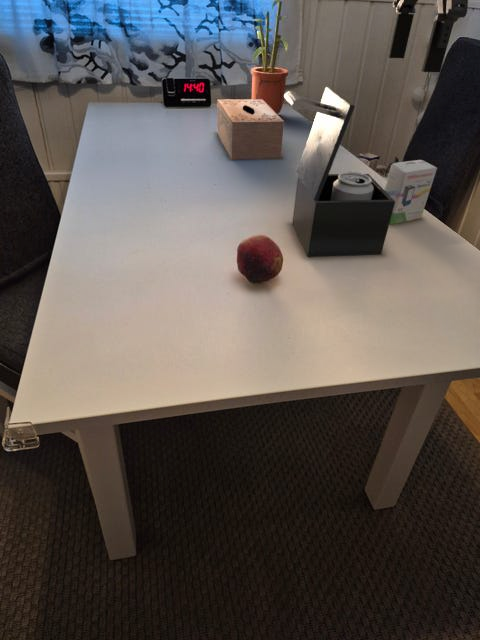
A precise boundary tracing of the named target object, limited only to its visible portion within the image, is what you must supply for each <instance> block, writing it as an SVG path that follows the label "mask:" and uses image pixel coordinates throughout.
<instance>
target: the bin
mask: <svg viewBox="0 0 480 640" xmlns="http://www.w3.org/2000/svg"><path fill="white" fill-rule="evenodd" d="M339 174H340V173H329V174H328V177H327V179H326V182H325V184H324V187H323V189H322V192H321V194H320V197H319V200H318V201H317V200H314V199H313V197H312V196H311V194H310V192H309V191H308V189H307V187H306V186H305V184H304V183H303V181H302V179H301V178H300V176H299V175H298V174H297V179H296V189H295V196H294V197H295V198H294V205H293V215H292V222H291V223H292V224H291V225H292V227H293V230H294V232H295V233H296V235H297V238H298V240H299V242H300V244H301V246H302V248H303V250H304V252H305V255H306V256H307V258H312V257H313V258H316V257H345V256H346V257H347V256H351V257H352V256H379V255H382V253H383V251H384V250H383V249H384V246H385V242H386V237H387V234H388V231H389V227H390V220H391V216H392V212H393V208H394V205H395V201H394V200H393V199H392V198H391V197H390V196H389V195H388V193H387V192H386V191H385V188H384V187H382V186H381V185H380V184H379V183H378V182H377V181H376V180H375V178H373V177H372V176H371V174H370V173H364V174H365V175H367V176H369V177H370V178H371V179H372V182H371V184H372V185H373V188H374V190H373V194H372V199H371V200H350V201H330V200H331V195H332V189H333V183H334V182H335V181H336V180H337V179H338V175H339Z"/></svg>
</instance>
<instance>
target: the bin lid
mask: <svg viewBox="0 0 480 640" xmlns="http://www.w3.org/2000/svg"><path fill="white" fill-rule="evenodd" d="M284 101H286V102H287V103H288V105H289V106H290V107H291V108H292V109H293V110H294V111H300V110H301V109H304V110H308V111H311V112H314V113H316V115H315V118H314V121H313V124H312V126H311V129H310V132H309V135H308V138H307V140H306V144H305V146H304V149H303V152H302V155H301V157H300V161H299V163H298V166H297V169H296V173H297V176H298V175H299V176H300V178H301V179H302V181H303V183H304V184H305V186H306V187H307V189H308V191H309V192H310V194H311V196H312V197H313V199H314V200H317V201H318V200H319V197H320V194H321V192H322V189H323V187H324V184H325V182H326V179H327V177H328V174H330V171H331V169H332V167H333V164H334V161H335V159H336V155H338V154H337V153H338V151H339V148H340V146H341V144H342V140H343V138H344V135H345V132H346V130H347V128H348V125H349V123H350V120H351V118H352V115H353V112H354V110H355V107H356V105H354V104H353V103H351V102H350V101H348V100H347V99H346V98H344V96H342V95H341V94H339V93H338V92H337V91H335V90H334V89H333V88H332V87H330V86H325V88H324V91H323V94H322V97H321V100H320V101H316V100H313V99H310V98H306V97H303V96H299V95H298V94H297V93H296V92H295V91H293V90H292V89H289V90H287V91H285V94H284Z"/></svg>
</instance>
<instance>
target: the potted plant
mask: <svg viewBox="0 0 480 640" xmlns="http://www.w3.org/2000/svg"><path fill="white" fill-rule="evenodd" d="M282 4H283V1H282V0H274V1H273V3H272V6H271V9H273V8H274V7H275V6H277V12H276V20H275V28H274V39H273V47H272V53H269V39H270V38H269V37H270V33H271V32H272V29H271V28H270V11H269V10H268V11H266V16H265V35H264V29H263V24H262V22H263V21H264V20H263V19H261V18H254V19H253V21H255V22H257V23H259V24H258V25H256V26H255V30H257V29H258V30H257V31H256V33H257V39H258V40H260V41H261V42H260V43H261V46H260V47H258V48H256V50H255V51H254V53H253V58H252V61H251V65H253V64H254V62H255V60H256V58H258V57H259V55H260V54H261V55H262V66H258V67H257V66H256V67H252V68H250V73H251V75H252V82H251V99H263V100H264V101H265V102H266V104H267V105H268V106H269V107H270V108H271V109H272V110H273V111H274V112H275V113H276V114H277V115H279V113H280V112H281V111H282V109H283V105H284V102H285V93H286V81H287V77H288V76H289V70H288V69H285V68H282V67H275V66H276V62H277V61H276V60H277V57H278V51H279V46H280V43H281V44H282V45H283V46H284V47H285V51H288V46H289V44H288V42H287V40H284V39H283V38H282V34H281V33H279V30H280V29H279V28H280V22H281V21H282V18H283V16H282V15H281V13H282V7H283V5H282ZM284 18H285V19H287V18H288V17H287V16H284ZM281 38H282V39H281ZM268 56H270V57H271V58H270V64H269V66H268V59H269V57H268Z"/></svg>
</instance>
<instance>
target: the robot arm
mask: <svg viewBox="0 0 480 640" xmlns="http://www.w3.org/2000/svg"><path fill="white" fill-rule="evenodd" d="M418 1H419V0H393V2H392V7H393V8H395V12H396V17H395V23H394V27H393V32H392V36H391V41H390V45H389V46H390V47H389V50H388V55H387V58H389V59H405V56H406V51H407V47H408V42H409V38H410V33H411V29H412V26H413V21H414V17H415V13H416V12H417V11H416V8H415V7H416V5H417V3H418ZM436 1H437V2H436V3H437V14H436V15H435V17H434V18H433V24H432V28H431V32H430V36H429V40H428V43H427V48H426V52H425V55H424V60H423V64H422V66H421V67H422V68H421V72H423V73H441V70H442V66H443V64H444V59H445V55H446V54H447V53H446V52H447V48H448V45H449V42H450V38H451V35H452V31H453V28H454V24H455V23H456V22H458V20H459V19H460V18H465V17H466V16H467V13H468V7H469V0H436Z"/></svg>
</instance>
